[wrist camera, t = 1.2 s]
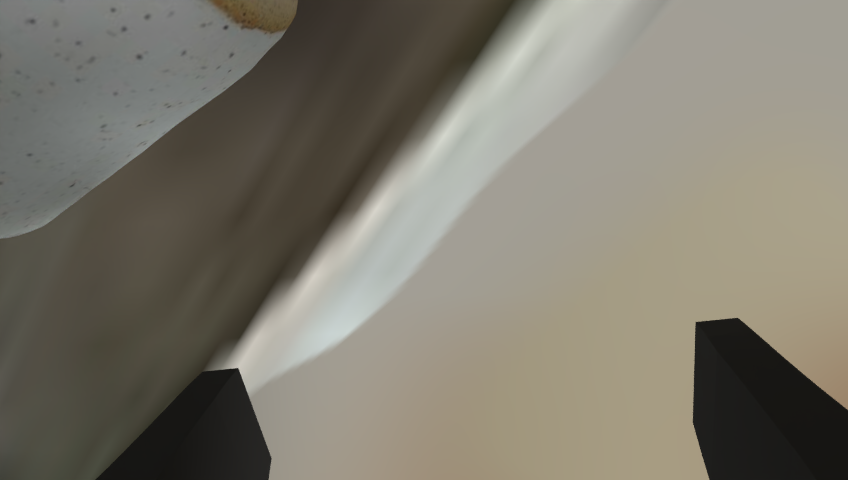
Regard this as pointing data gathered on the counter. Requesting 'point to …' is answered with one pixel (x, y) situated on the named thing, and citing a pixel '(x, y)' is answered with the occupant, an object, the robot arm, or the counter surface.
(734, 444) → the robot arm
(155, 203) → the counter surface
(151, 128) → the ceramic mug
